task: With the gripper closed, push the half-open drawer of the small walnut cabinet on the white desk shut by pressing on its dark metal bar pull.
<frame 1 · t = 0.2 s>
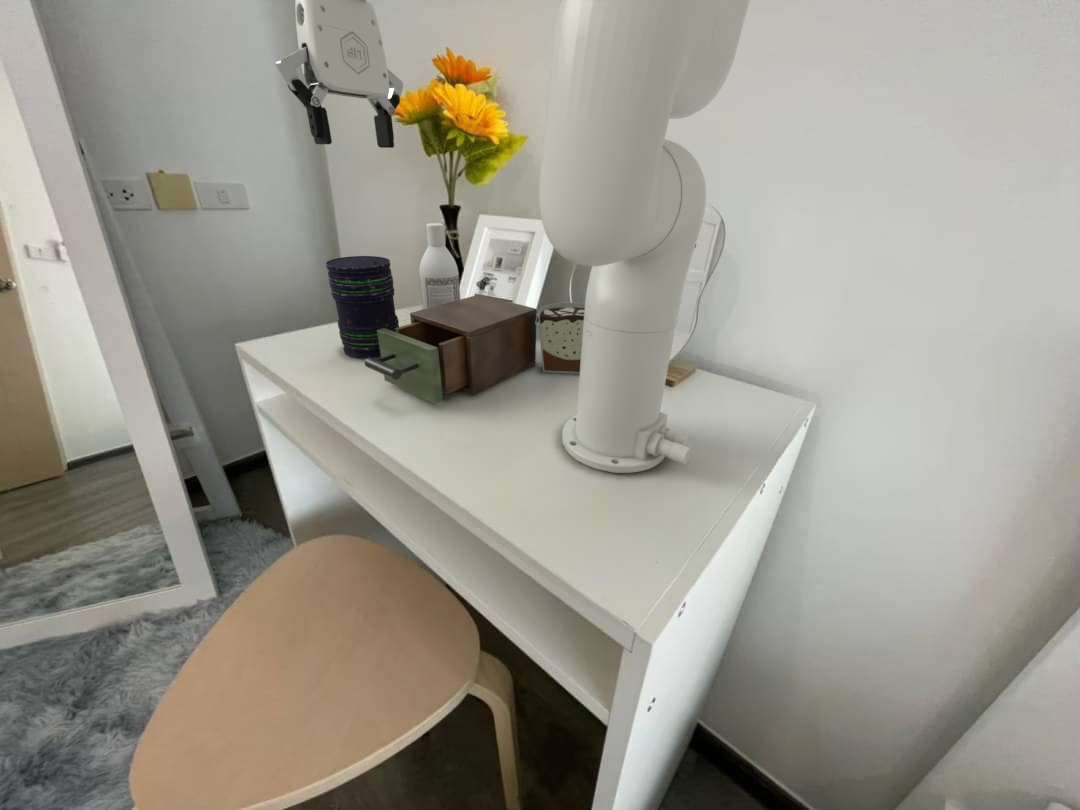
hand: (356, 145, 62), 31 cm above the table, tool pointing down, fingers open, 9 cm apart
drawer: (432, 356, 63), point 5 cm above the table, slide at 5.0 cm
storage jar: (373, 349, 78), on the table
cabinet: (477, 368, 71), on the table
bath foam: (444, 335, 85), on the table
food container: (571, 366, 73), on the table
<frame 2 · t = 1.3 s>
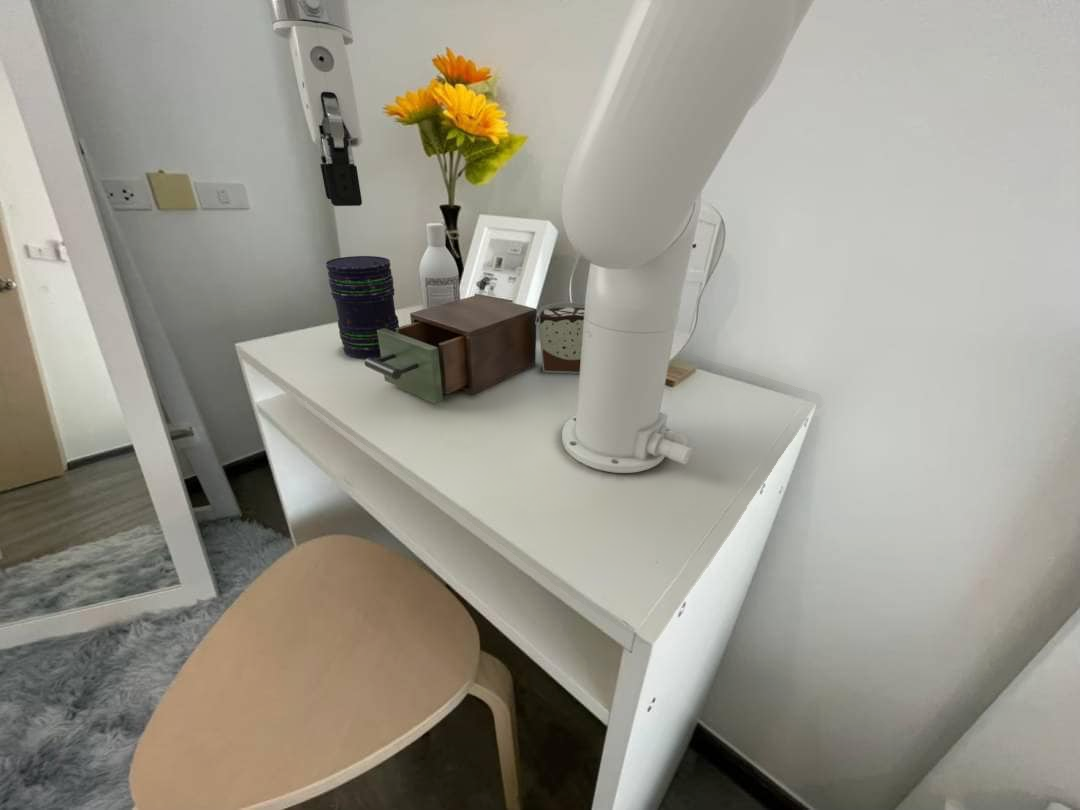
hand: (343, 202, 53), 25 cm above the table, tool pointing down, fingers open, 9 cm apart
nothing on the table moved.
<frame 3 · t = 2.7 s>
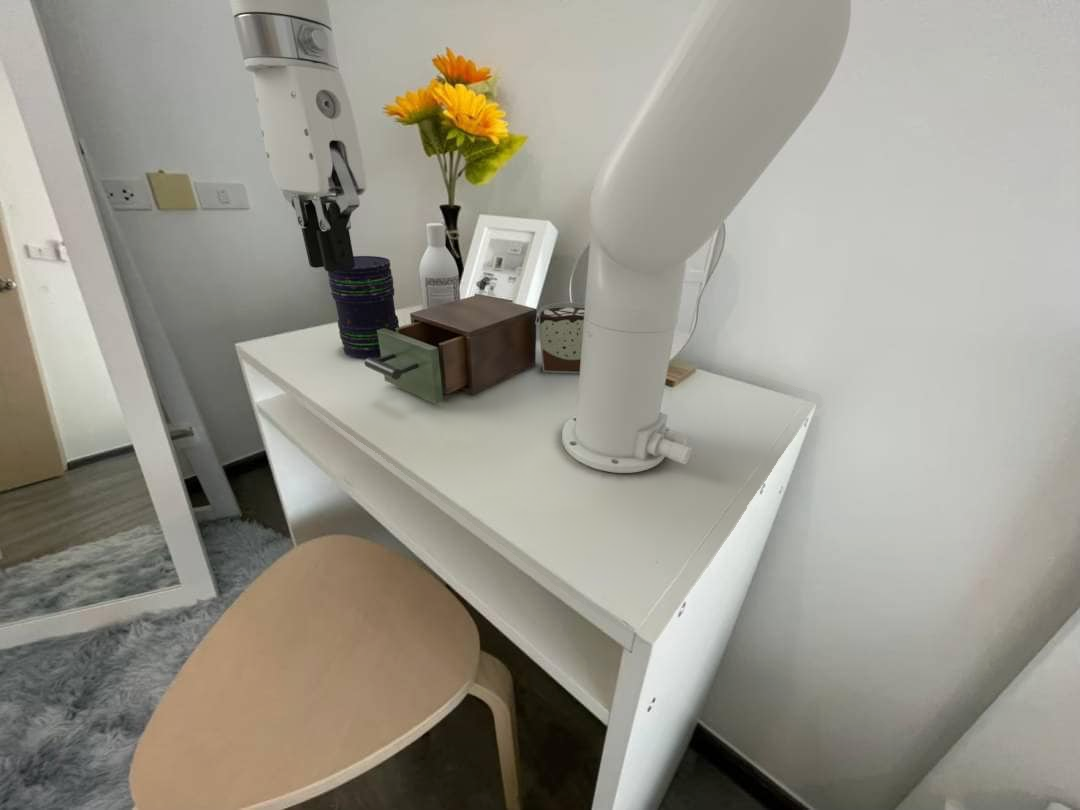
hand: (332, 266, 47), 19 cm above the table, tool pointing down, fingers closed
nothing on the table moved.
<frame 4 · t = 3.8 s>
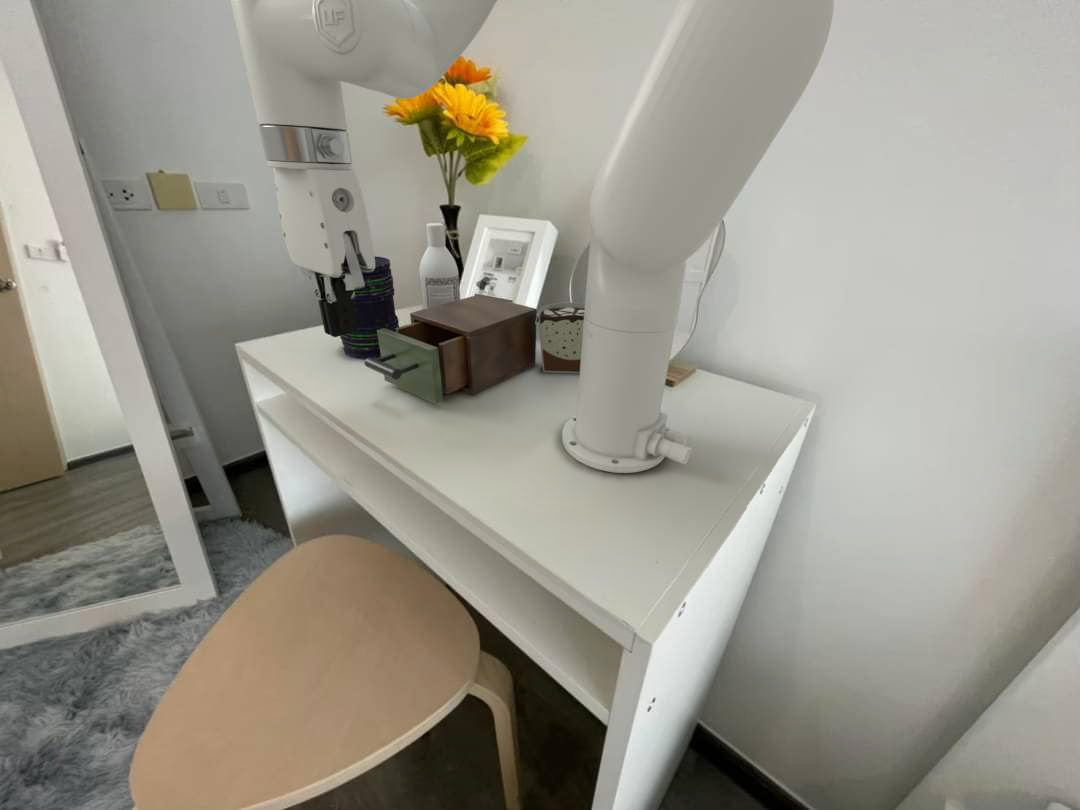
hand: (341, 332, 51), 12 cm above the table, tool pointing down, fingers closed
nothing on the table moved.
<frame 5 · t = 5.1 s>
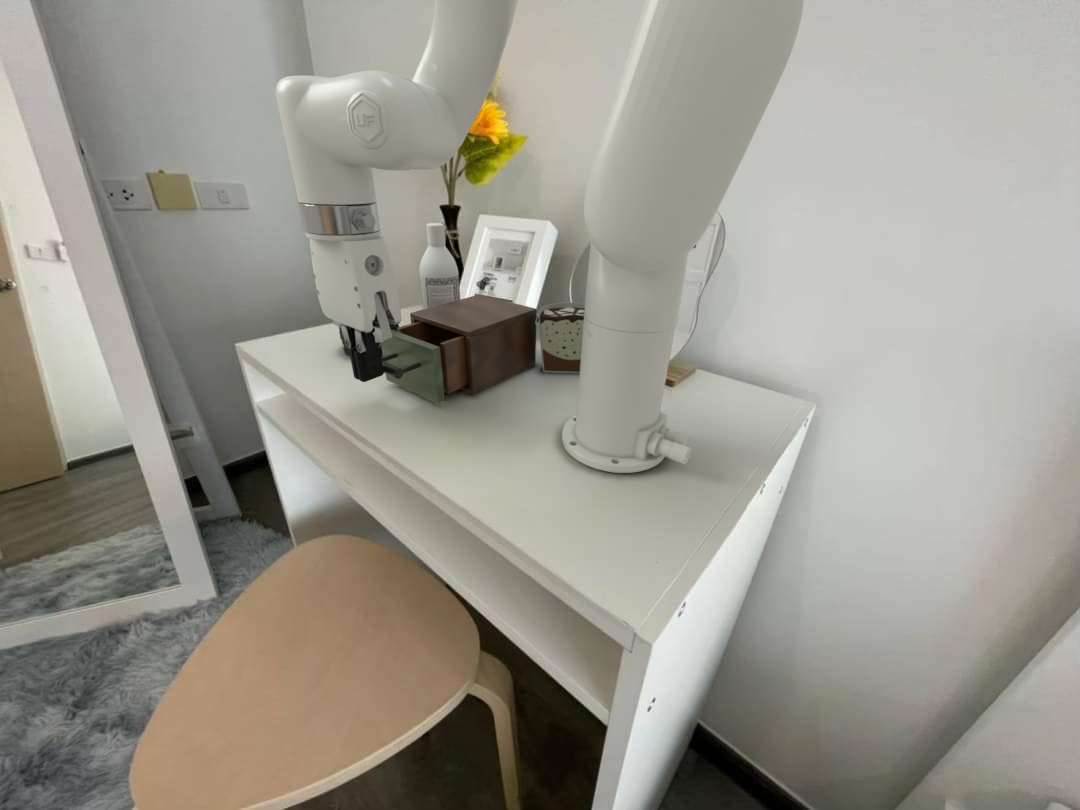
hand: (369, 376, 55), 5 cm above the table, tool pointing down, fingers closed
drawer: (434, 356, 63), point 5 cm above the table, slide at 4.7 cm, touching gripper
everything else where it was.
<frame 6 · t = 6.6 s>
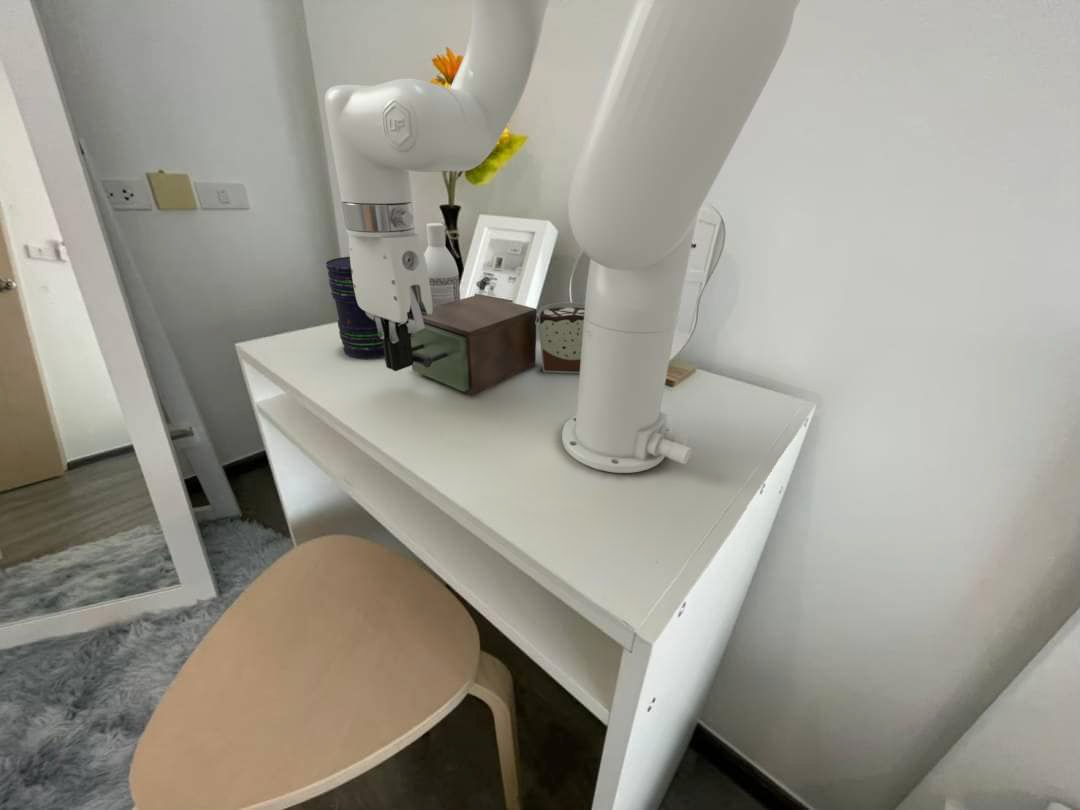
hand: (400, 366, 59), 5 cm above the table, tool pointing down, fingers closed
drawer: (458, 347, 66), point 5 cm above the table, slide at 0.0 cm, touching gripper
everything else where it was.
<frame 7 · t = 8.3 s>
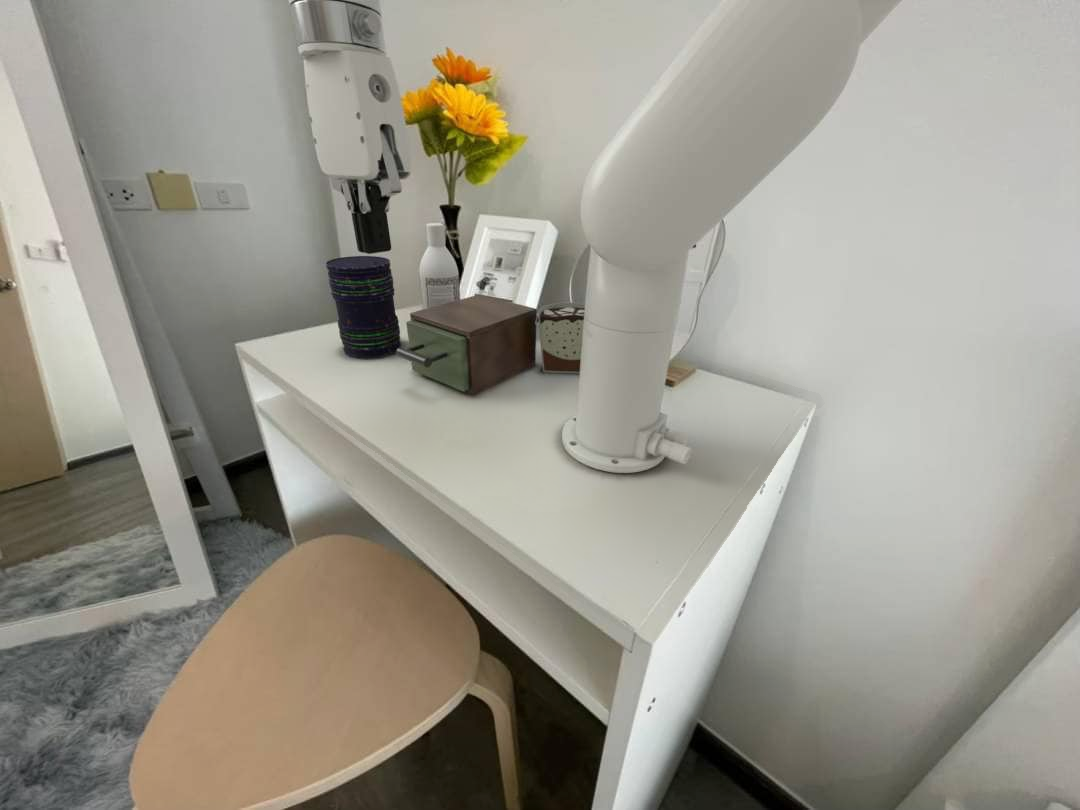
hand: (375, 251, 48), 21 cm above the table, tool pointing down, fingers closed
drawer: (458, 347, 66), point 5 cm above the table, slide at 0.0 cm
everything else where it was.
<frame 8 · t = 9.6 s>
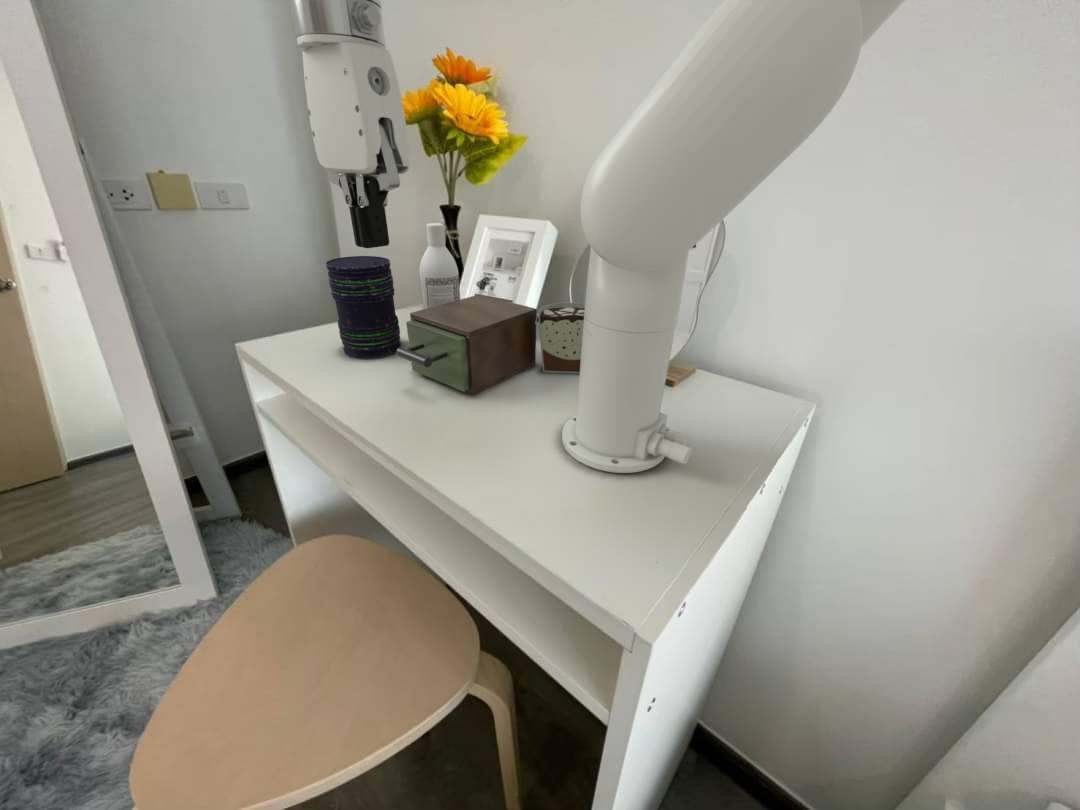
hand: (373, 245, 48), 21 cm above the table, tool pointing down, fingers closed
nothing on the table moved.
at the end: drawer slide at 0.0 cm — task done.
